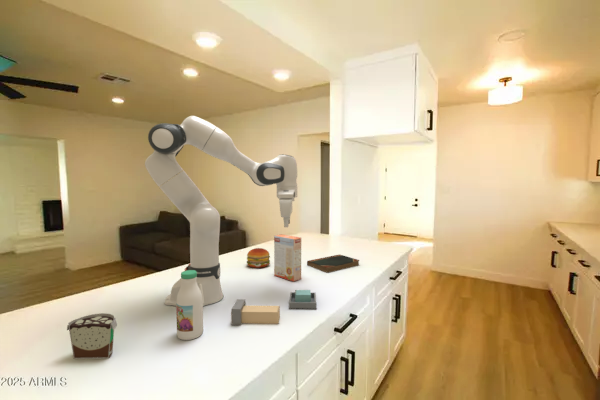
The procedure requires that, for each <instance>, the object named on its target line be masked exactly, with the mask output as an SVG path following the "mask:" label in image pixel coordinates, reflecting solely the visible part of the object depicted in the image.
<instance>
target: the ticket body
mask: <svg viewBox="0 0 600 400" xmlns="http://www.w3.org/2000/svg"><path fill="white" fill-rule="evenodd" d="M230 314H231V315H230V316H231V317H230V320H231V326H241V325H242V324H260V325H261V324H267V325H269V324H271V325H273V324H276V325H278V324H279V323H280V318H281V316H280V315H281V306H280V305H246V299H243V298H240V299H239V298H238V299H236V300H235V301H234V304H233V306H232V307H231V311H230Z"/></svg>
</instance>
